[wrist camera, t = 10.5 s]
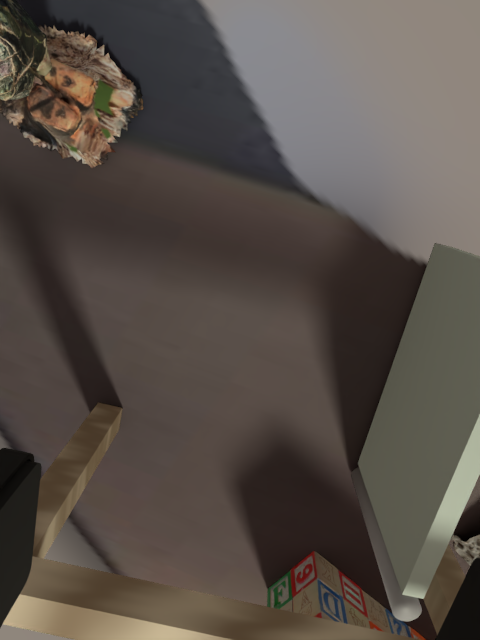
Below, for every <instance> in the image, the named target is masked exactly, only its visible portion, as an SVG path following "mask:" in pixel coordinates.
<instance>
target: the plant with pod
mask: <svg viewBox="0 0 480 640" xmlns="http://www.w3.org/2000/svg"><path fill="white" fill-rule="evenodd" d="M44 25H45V24H44ZM96 47H97V41H96V40H95V39H94V38H93V37H92V36H90V35H88V36H87V37H86V38H85V33H83V34H82V33H81V35H80V34H79V32H78V31H77V32H71V34H70V33H69V31H68V35H67V34H66V33H65V32H64V31H63V30H61V31H58V30H57V29H56V28H55V26H53V29H52V28H51V27H48V28H47V27H46V25H45V30H44V28H43V27H42V26H41V25H40V26H39V27H38V26H37V25H36V24H35V23H34V22H33V20H32V19H31V17H30V16H29V15H28V14H27V12H26V11H25V10H24V9H23V8H22V6H21V5H20V4H19V3H18V2H17V1H16V0H0V108H1V109H0V113H2V114H3V116H4V117H5V116H7V120H8V119H9V122H10V123H11V122H12V121H13V124H14V126H15V125H17V129H20V128H21V131H20V132H21V133H23V135H24V138H30V141H31V142H33V143H34V146H35V145H38V146H39V147H40V146H41V145H42V147H46V146H47V147H48V148H49V150H50V151H52V150H53V149H55V148H56V149H57V151H58V152H59V154H60V155H61V157H62V158H63V159H64V158H67V157H71V156H73V157H74V158H75V159H76V161H77V162H78V161H79V160H80V159H81V158H82V163H83V164H88V165H89V166H90V167H91V168H93V167H95V166H97V165H100V164H104V163H103V162H102V161H101V160H100V159H104V160H108V156H107V152H115V151H114V150H113V149H112V148H111V147H110V145H109V144H108V143H107V142H113V143H118V142H117V141H116V139H115V138H114V137H113V136H112V135H114V136H118V137H120V133H121V128H123V129H124V130H126V131H127V124H128V123H130V119H129V117H130V118H134V117H133V116H132V114H134V115H136V116H137V111H138V110H143V99H142V98H141V96H142V94H140V89H138V90H137V88H136V86H133V83H134V82H133V83H131V80H127V78H126V76H125V75H124V74H122V72H121V69H119V68H118V67H117V66H116V64H115V63H114V62H113V61H112V60H111V59H110V56H109V53H107V54H106V55H105V56H104V45H103V46H101V47H100V48H98V49H97V50H96ZM131 113H132V114H131ZM98 158H99V159H98Z"/></svg>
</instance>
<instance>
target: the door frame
mask: <svg viewBox="0 0 480 640" xmlns="http://www.w3.org/2000/svg"><path fill="white" fill-rule="evenodd" d="M121 414H122V408H121V407H116V406H112V405H107V404H102V403H97V405H96V406H95V407H94V409H93V410H92V411H91V413H90V414H89V415H88V417H87V418H86V419H85V421H84V422H83V423H82V425H81V426H80V427H79V429H78V430H77V431H76V433H75V434H74V435H73V437H72V438H71V439H70V441H69V442H68V443H67V445H66V446H65V447H64V449H63V450H62V451H61V453H60V454H59V455H58V457H57V458H56V459H55V461H54V462H53V463H52V465H51V466H50V467H49V469H48V470H47V471H46V473H45V474H44V475H43V477H42V478H41V479H40V487H39V497H38V507H37V516H36V526H35V536H34V546H33V556H32V565H31V570H30V574H29V577H28V579H27V582H26V584H25V586H24V588H23V590H22V591H21V593H20V595H19V596H18V598H17V600H16V602H15V603H14V605H13V607H12V608H11V610H10V612H9V614H8V615H7V617H6V619H5V620H4V622H3V624H4V625H9V626H14V627H18V628H23V629H27V630H33V631H37V632H42V633H46V634H51V635H56V636H61V637H66V638H70V639H75V640H420V639H415V638H411V637H406V636H401V635H397V634H392V633H387V632H383V631H378V630H373V629H369V628H364V627H359V626H355V625H350V624H346V623H341V622H336V621H332V620H327V619H322V618H318V617H313V616H308V615H304V614H299V613H294V612H290V611H285V610H280V609H276V608H271V607H266V606H262V605H257V604H252V603H248V602H243V601H238V600H234V599H229V598H224V597H220V596H215V595H210V594H206V593H201V592H196V591H192V590H187V589H182V588H178V587H173V586H168V585H164V584H159V583H154V582H150V581H145V580H141V579H136V578H131V577H127V576H122V575H117V574H113V573H108V572H103V571H99V570H93V569H89V568H85V567H79V566H75V565H71V564H66V563H61V562H57V561H52V560H47V559H44V557H45V555H46V553H47V552H48V550H49V549H50V547H51V545H52V543H53V541H54V540H55V538H56V537H57V535H58V533H59V531H60V530H61V528H62V526H63V525H64V523H65V521H66V519H67V518H68V516H69V514H70V513H71V511H72V509H73V507H74V506H75V504H76V502H77V501H78V499H79V497H80V495H81V494H82V492H83V490H84V489H85V487H86V485H87V483H88V482H89V480H90V478H91V477H92V475H93V473H94V471H95V470H96V468H97V466H98V465H99V463H100V461H101V459H102V458H103V456H104V454H105V453H106V451H107V449H108V447H109V446H110V444H111V442H112V441H113V439H114V437H115V435H116V434H117V432H118V430H119V427H120V421H121ZM464 579H465V575H464V573H463V571H462V569H461V567H460V565H459V564H458V562H457V560H456V558H455V556H454V554H453V552H452V550H451V548H450V546H449V544H448V546H447V548H446V550H445V552H444V555H443V557H442V559H441V561H440V564H439V566H438V568H437V570H436V572H435V575H434V577H433V579H432V581H431V584H430V586H429V588H428V590H427V592H426V595H425V597H424V599H423V600H424V602H425V605H426V607H427V610H428V612H429V615H430V618H431V620H432V623H433V625H434V628H435V631H436V633H437V635H438V633H439V631H440V628H441V626H442V624H443V622H444V620H445V618H446V616H447V614H448V612H449V610H450V608H451V606H452V604H453V601H454V599H455V597H456V595H457V593H458V591H459V589H460V587H461V585H462V583H463V581H464Z"/></svg>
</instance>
